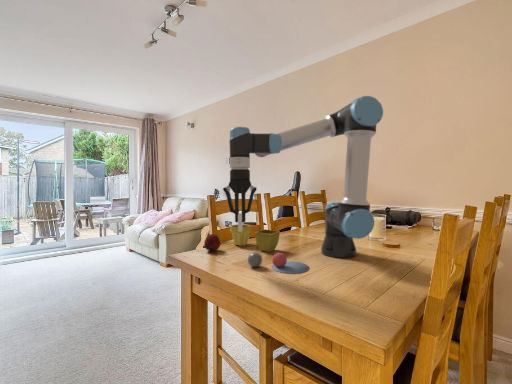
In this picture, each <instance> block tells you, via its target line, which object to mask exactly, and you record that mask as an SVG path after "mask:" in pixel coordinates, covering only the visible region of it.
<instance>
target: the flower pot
mask: <svg viewBox="0 0 512 384" xmlns="http://www.w3.org/2000/svg"><path fill="white" fill-rule="evenodd" d="M254 233H255V240H256V241H255V242H256V246H257V247H258V249H259V250H260V251H262V252H268V253H270V252H272V251H275V250H276V249H277V246H278V243H279V239H280V231H279V230H272V229H262V230H261V229H260V230H258V231H255V232H254Z"/></svg>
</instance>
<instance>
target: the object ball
mask: <svg viewBox="0 0 512 384" xmlns="http://www.w3.org/2000/svg"><path fill="white" fill-rule="evenodd" d="M271 258H272V259H271V260H272V261H271V263H272V265H273V264H274V265H275V266H276V267H283V266H285V264H286V262H287V261H288V260H287V259H288V258H287V256H286V254H284V253H283V252H276V253H274V254H273V256H272V257H271Z"/></svg>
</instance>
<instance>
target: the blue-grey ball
mask: <svg viewBox="0 0 512 384" xmlns="http://www.w3.org/2000/svg"><path fill="white" fill-rule="evenodd" d="M247 262H248V265H249V266H250V267H252V268H258V267H259V266H261V264H262V262H263V257H262V255H261V254H260V253H259V252H255V251H254V252H251V253H250V254H249V255H248V257H247Z"/></svg>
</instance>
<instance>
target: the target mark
mask: <svg viewBox="0 0 512 384" xmlns="http://www.w3.org/2000/svg"><path fill="white" fill-rule="evenodd" d="M271 268H272V270H274V271H275V272H278V273H280V274H281V273H282V274H289V275H291V274H293V275H294V274H295V275H296V274H297V275H298V274H303V273H306V272H308V271H309V269H310V267H309V265H308V264H305V263H304V262H300V261H294V260H287V262H286V264H285V266H283V267H276V266H275V265H274V264H273V263H272V265H271Z"/></svg>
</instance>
